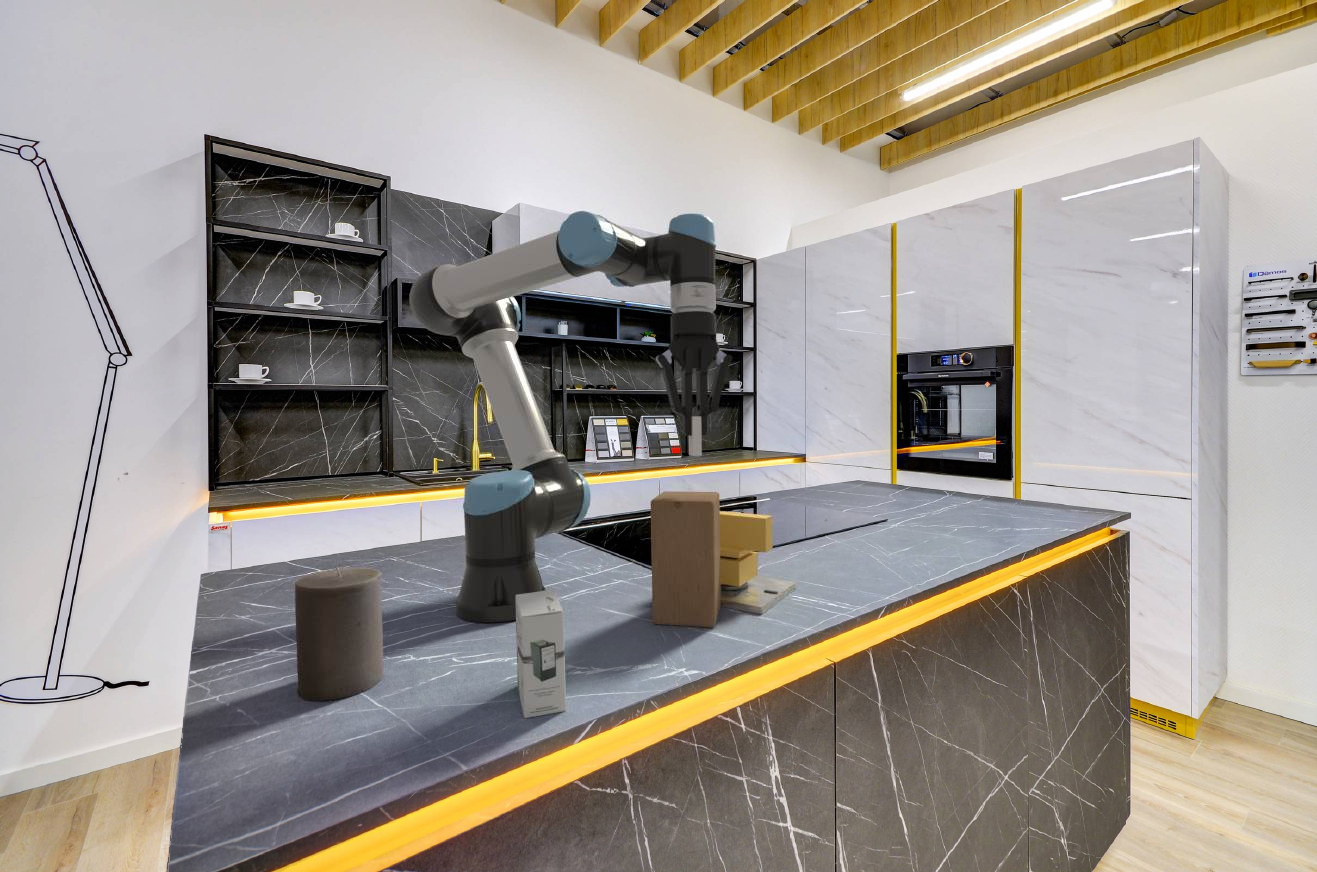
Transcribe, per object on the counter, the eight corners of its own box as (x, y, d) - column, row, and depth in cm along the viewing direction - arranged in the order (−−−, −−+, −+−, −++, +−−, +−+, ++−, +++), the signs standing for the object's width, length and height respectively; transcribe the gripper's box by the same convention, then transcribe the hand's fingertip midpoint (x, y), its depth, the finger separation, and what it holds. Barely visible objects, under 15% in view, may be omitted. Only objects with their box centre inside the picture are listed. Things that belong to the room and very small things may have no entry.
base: (660, 594, 106) (660, 541, 106) (703, 573, 120) (702, 525, 119) (761, 614, 95) (761, 554, 95) (796, 588, 109) (795, 535, 108)
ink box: (516, 685, 72) (513, 592, 71) (556, 678, 74) (553, 587, 73) (523, 720, 64) (520, 615, 63) (567, 711, 65) (565, 609, 65)
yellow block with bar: (756, 592, 98) (756, 522, 98) (677, 578, 107) (676, 514, 107) (780, 576, 107) (780, 512, 107) (705, 565, 116) (704, 505, 116)
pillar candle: (290, 708, 67) (286, 581, 66) (304, 673, 76) (301, 561, 75) (383, 692, 71) (380, 572, 70) (385, 660, 80) (383, 553, 79)
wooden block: (714, 628, 89) (713, 500, 88) (652, 624, 91) (649, 499, 90) (721, 607, 99) (719, 491, 98) (664, 603, 101) (662, 490, 100)
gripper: (659, 308, 90) (661, 458, 91) (738, 310, 93) (739, 455, 94) (650, 316, 98) (652, 455, 99) (723, 317, 100) (725, 452, 101)
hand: (695, 455), depth 96 cm, fingers closed
